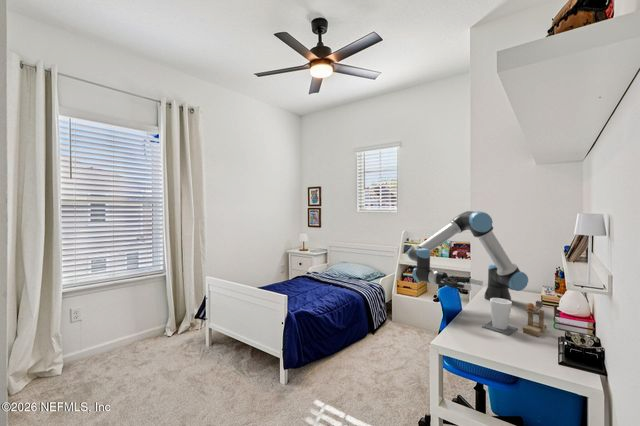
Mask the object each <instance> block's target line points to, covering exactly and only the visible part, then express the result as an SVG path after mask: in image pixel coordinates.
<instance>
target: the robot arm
mask: <svg viewBox="0 0 640 426" xmlns="http://www.w3.org/2000/svg"><path fill="white" fill-rule="evenodd" d="M468 230H469V231H470V233H471V234H472V235H473V237H474V238H476V239H477V238H478V240H479V242H480V243H481V245H482V246H483V248H484V250H485V251H486V253H487V254H488V256H489V257H490V259H491V260H492V263H490V264H488V271H487V272H488V273H487V287H486V290H485V292H484V295H483V296H484V299H486V300H488V301H490V299H491V298H501V299H506V300H509V301H511V302H512V295H511V293H510V290H512V291H515V292H519V291H520V292H521V291H523V290H524V289H526V288H527V286H528V283H529V278H528V277H529V276H528V275H527V274H526V273H525V272H523V271H521V270H520V269H519V267H518V265H517V264H516V263H512V261H511V260H510V257H509V256H508V255H507V253H506V251H505V250H504V248H503V246H502V245H501V243H500V242H499V240H498V238H497V237H496V235H495V234H494V232H493V230H494V226H493V219H492V216H491V215H490V214H488V213H487V212H485V211H484V212H483V211H479V210H478V211H477V210H476V211H470V210H469V211H468V210H467V211H464V212H462V213H460V214H458V215H457V216H455V217H454V218H453V219H451V220H449V223H448V224H447V225H445V226H444V227H442V228H441V229H440V230H438V231H437V232H436V233H434V234H432V236H430V237H429V238H427V239H426V240H424V241H423V242H421V243H420V244H419V245H417V246H416V247H414V248H413V247H412V248H410V249H408V251H407V257H408V258H409V259H410V260H412V262H415V263H416V267H414V268H413V269H412V275H411V276H412V278H413V280H416V281H419V282H424V283H429V284H432V285H437V286H443V287H444V286H446V287H448V288H449V287H450V288H451V289H455V290H458V289H460V290H461V289H462V290H466V291H472V285H475V286H476V285H477V286H483V283H484V281H483V280H481V279H476V278H472V276H457V275H448V273H446V272H444V271H439V270H435V269H434V270H433V269H431V252H432V251H434V250H436V249H437V248H438V247H440V246H441V245H443V243H445V242H447V241H448V240H450V239H451V238H453V237H454V236H455V235H458V234H461V233H463V232H465V231H468ZM509 289H510V290H509Z"/></svg>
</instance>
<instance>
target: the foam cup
mask: <svg viewBox="0 0 640 426" xmlns="http://www.w3.org/2000/svg"><path fill="white" fill-rule="evenodd" d="M489 306H490V315H491V321H492V325H493V327H495V328H498V329H507V327H508V325H509V321H510V316H511V311H512V307H513V302H512V300H511V301H509V300H506V299H501V298H491V299H490V300H489Z"/></svg>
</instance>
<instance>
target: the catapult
mask: <svg viewBox="0 0 640 426" xmlns="http://www.w3.org/2000/svg"><path fill="white" fill-rule="evenodd" d="M543 306H544V301H542V300H541V301H540V300H536V301H535V305H534V304H533V303H531V302H529V303H527V304H526V308H525V309H524V312H526V314H527V315H528V316H527V325H525V326H523V327H522V333H523V334H525V335H529V336H533V337H536V338H539V337H540V336H541V335H542V334H543V333H545V332H546V331H547V328H548V327H547V326H548V325H547V324H545V323H544V322H545V310H542V309H543ZM534 315H537V316H538V322H536V321H534Z"/></svg>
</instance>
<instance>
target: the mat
mask: <svg viewBox="0 0 640 426" xmlns="http://www.w3.org/2000/svg"><path fill="white" fill-rule="evenodd" d="M482 328H484V329H487V330H489V331H493V332H496V333H500V334H501V335H502V334H503V335H506V336H510V335H512V334H514V333H515V332H516V331H518V329H519V328H518V327H516V326H513V325H512V326H511V325H509V324H508V327H507V329H498V328H495V327H493V325H492V320H490V321H488V322H487V323H485V324H483V325H482Z"/></svg>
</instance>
